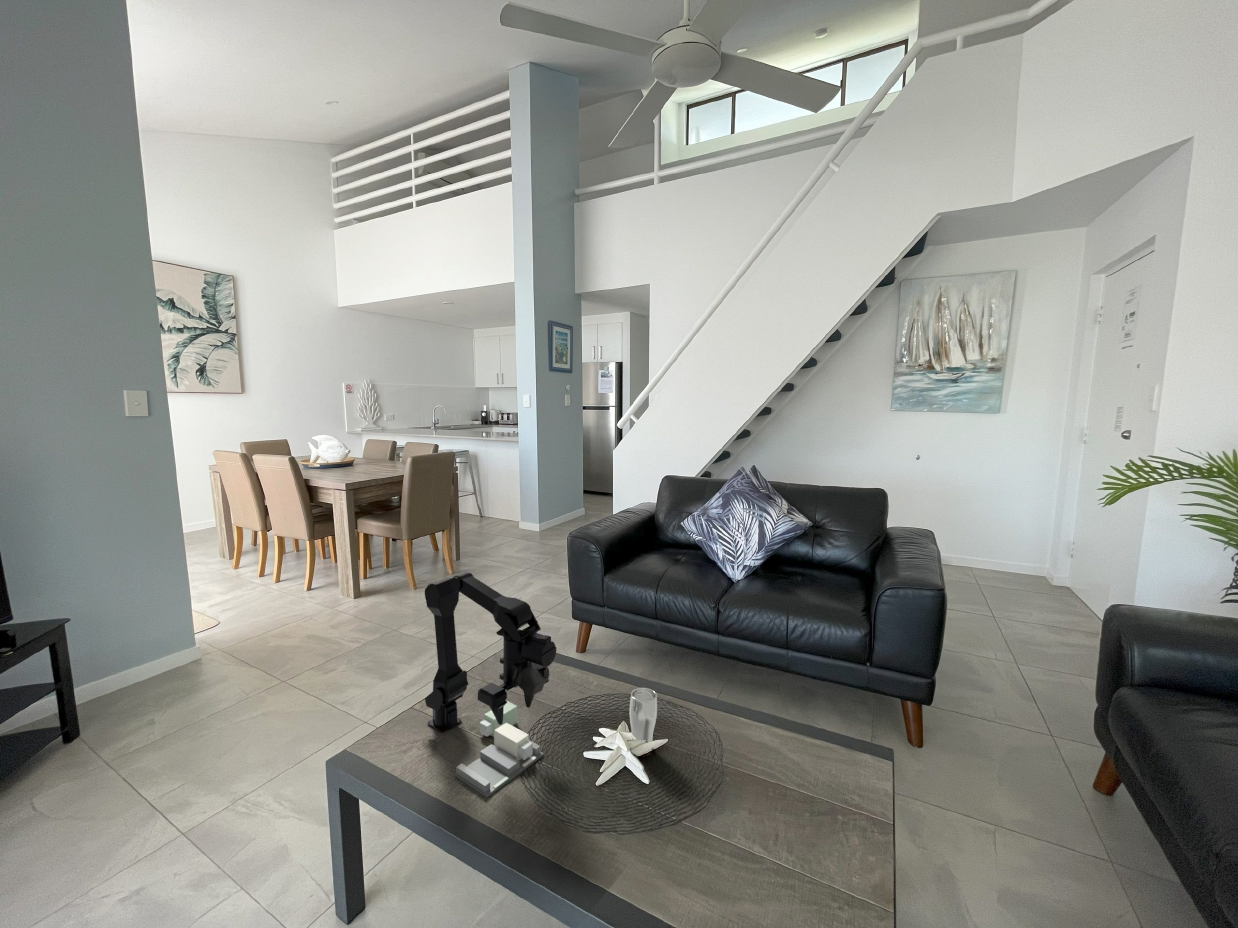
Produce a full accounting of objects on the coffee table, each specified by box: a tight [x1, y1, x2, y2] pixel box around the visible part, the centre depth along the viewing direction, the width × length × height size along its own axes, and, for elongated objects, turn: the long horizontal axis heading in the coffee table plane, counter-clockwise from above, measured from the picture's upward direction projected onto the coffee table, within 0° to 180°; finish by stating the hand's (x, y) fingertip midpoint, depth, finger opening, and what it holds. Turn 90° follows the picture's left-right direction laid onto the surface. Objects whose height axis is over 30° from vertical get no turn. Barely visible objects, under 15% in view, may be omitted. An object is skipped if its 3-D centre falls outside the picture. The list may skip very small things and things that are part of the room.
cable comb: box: [454, 739, 545, 799], centre depth 126 cm, size 11×18×2 cm, turn 145°
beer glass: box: [628, 687, 658, 742], centre depth 133 cm, size 7×7×15 cm
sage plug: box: [479, 701, 518, 738], centre depth 140 cm, size 10×4×5 cm, turn 145°
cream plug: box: [493, 723, 533, 760], centre depth 129 cm, size 10×4×5 cm, turn 54°
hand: (514, 715), depth 128 cm, fingers open, 9 cm apart
